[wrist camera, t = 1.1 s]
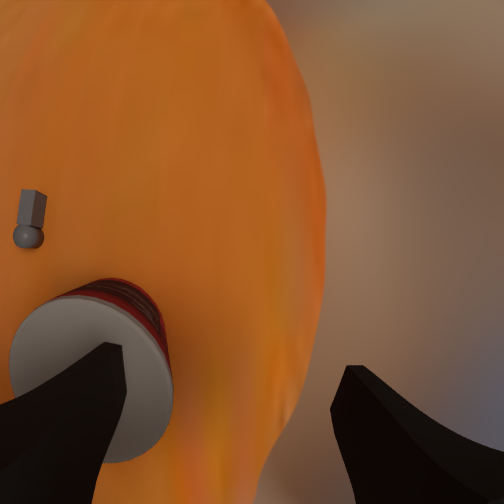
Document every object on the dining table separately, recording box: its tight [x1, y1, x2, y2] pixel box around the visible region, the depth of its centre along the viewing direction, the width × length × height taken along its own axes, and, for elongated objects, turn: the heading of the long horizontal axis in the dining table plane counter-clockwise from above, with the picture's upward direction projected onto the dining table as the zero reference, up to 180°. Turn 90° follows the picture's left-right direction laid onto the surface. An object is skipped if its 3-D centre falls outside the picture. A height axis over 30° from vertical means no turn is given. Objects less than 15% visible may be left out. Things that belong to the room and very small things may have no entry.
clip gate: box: [13, 189, 47, 248], centre depth 18 cm, size 19×2×2 cm, turn 175°
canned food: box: [9, 278, 173, 463], centre depth 16 cm, size 8×8×11 cm
